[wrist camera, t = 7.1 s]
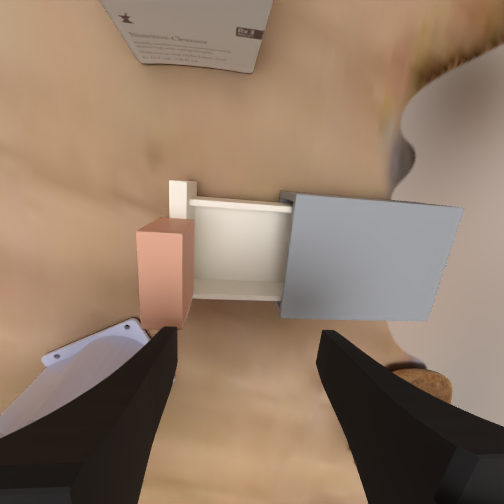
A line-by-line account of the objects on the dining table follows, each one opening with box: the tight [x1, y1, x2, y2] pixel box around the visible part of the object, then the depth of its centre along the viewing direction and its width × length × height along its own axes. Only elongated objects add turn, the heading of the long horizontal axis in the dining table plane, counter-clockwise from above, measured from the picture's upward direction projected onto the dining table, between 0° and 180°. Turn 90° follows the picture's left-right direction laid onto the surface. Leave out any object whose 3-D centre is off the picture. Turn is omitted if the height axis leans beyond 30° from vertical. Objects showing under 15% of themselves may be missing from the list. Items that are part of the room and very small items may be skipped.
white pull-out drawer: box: [136, 180, 293, 330], centre depth 16 cm, size 13×9×9 cm
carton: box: [274, 191, 464, 321], centre depth 20 cm, size 12×9×5 cm
